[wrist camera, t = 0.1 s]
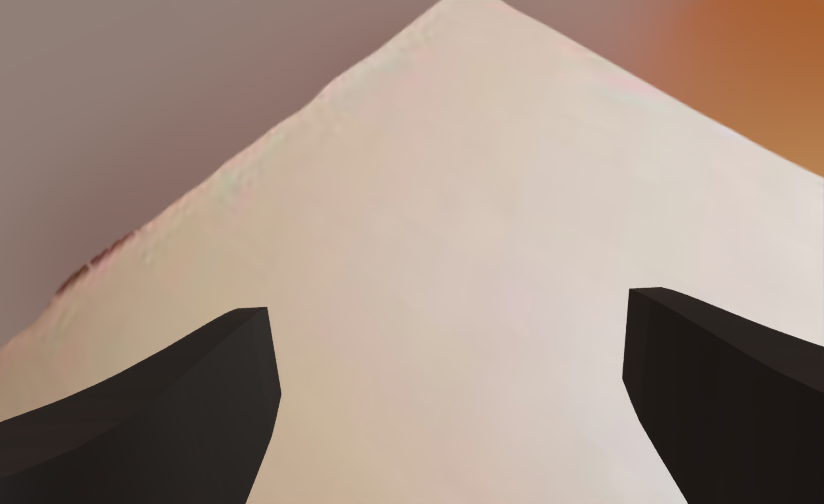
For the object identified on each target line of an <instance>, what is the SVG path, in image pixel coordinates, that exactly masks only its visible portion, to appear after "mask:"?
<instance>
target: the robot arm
mask: <svg viewBox="0 0 824 504" xmlns="http://www.w3.org/2000/svg"><path fill="white" fill-rule="evenodd" d="M622 379H623V382H624V384H625V387H626V390H627V392H628V395H629V397H630V400H631V403H632V405H633V407H634V410H635V412H636V414H637V417H638V419H639V421H640V423H641V425H642V426H643V428H644V430H645V432H646V433H647V435H648V437H649V439H650V440H651V442H652V444H653V445H654V447H655V449H656V451H657V452H658V454H659V456H660V457H661V459H662V461H663V462H664V464H665V466H666V467H667V469H668V471H669V472H670V474H671V476H672V477H673V479H674V481H675V482H676V484H677V486H678V487H679V489H680V491H681V493H682V494H683V496H684V498H685V499H686V501H687V503H688V504H824V347H823V346H820V345H817V344H814V343H811V342H808V341H805V340H802V339H799V338H797V337H794V336H791V335H788V334H785V333H782V332H779V331H777V330H774V329H771V328H769V327H766V326H764V325H761V324H758V323H756V322H753V321H751V320H748V319H746V318H743V317H741V316H738V315H736V314H733V313H731V312H728V311H726V310H723V309H721V308H718V307H716V306H713V305H711V304H708V303H706V302H704V301H701V300H699V299H696V298H693V297H691V296H688V295H685V294H683V293H680V292H677V291H674V290H671V289H667V288H663V287H653V288H634V289H629V298H628V311H627V324H626V337H625V349H624V362H623V375H622ZM280 398H281V388H280V382H279V376H278V370H277V364H276V358H275V352H274V346H273V340H272V333H271V327H270V321H269V315H268V309H267V307H257V308H237V309H235V310H232V311H230V312H228V313H225V314H224V315H222V316H220V317H218V318H216V319H214V320H213V321H211V322H209V323H207V324H206V325H204V326H202V327H201V328H199V329H197V330H195V331H194V332H192V333H190V334H189V335H187V336H185V337H184V338H182V339H180V340H178V341H177V342H175V343H173V344H172V345H170V346H168V347H167V348H165V349H163V350H161V351H159V352H157V353H156V354H154V355H152V356H150V357H148V358H146V359H145V360H143V361H141V362H139V363H137V364H135V365H133V366H132V367H130V368H128V369H126V370H124V371H122V372H121V373H119V374H117V375H115V376H112V377H110V378H108V379H106V380H104V381H102V382H100V383H98V384H96V385H94V386H91V387H89V388H87V389H84V390H82V391H80V392H78V393H75V394H73V395H71V396H68V397H66V398H64V399H61V400H59V401H56V402H54V403H51V404H49V405H46V406H43V407H40V408H38V409H35V410H32V411H29V412H27V413H24V414H21V415H19V416H16V417H13V418H10V419H8V420H5V421H2V422H0V504H246V501H247V499H248V496H249V494H250V491H251V488H252V486H253V483H254V481H255V478H256V476H257V473H258V471H259V468H260V466H261V463H262V461H263V458H264V455H265V453H266V450H267V448H268V445H269V442H270V440H271V437H272V433H273V429H274V425H275V421H276V417H277V412H278V408H279V403H280Z"/></svg>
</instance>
